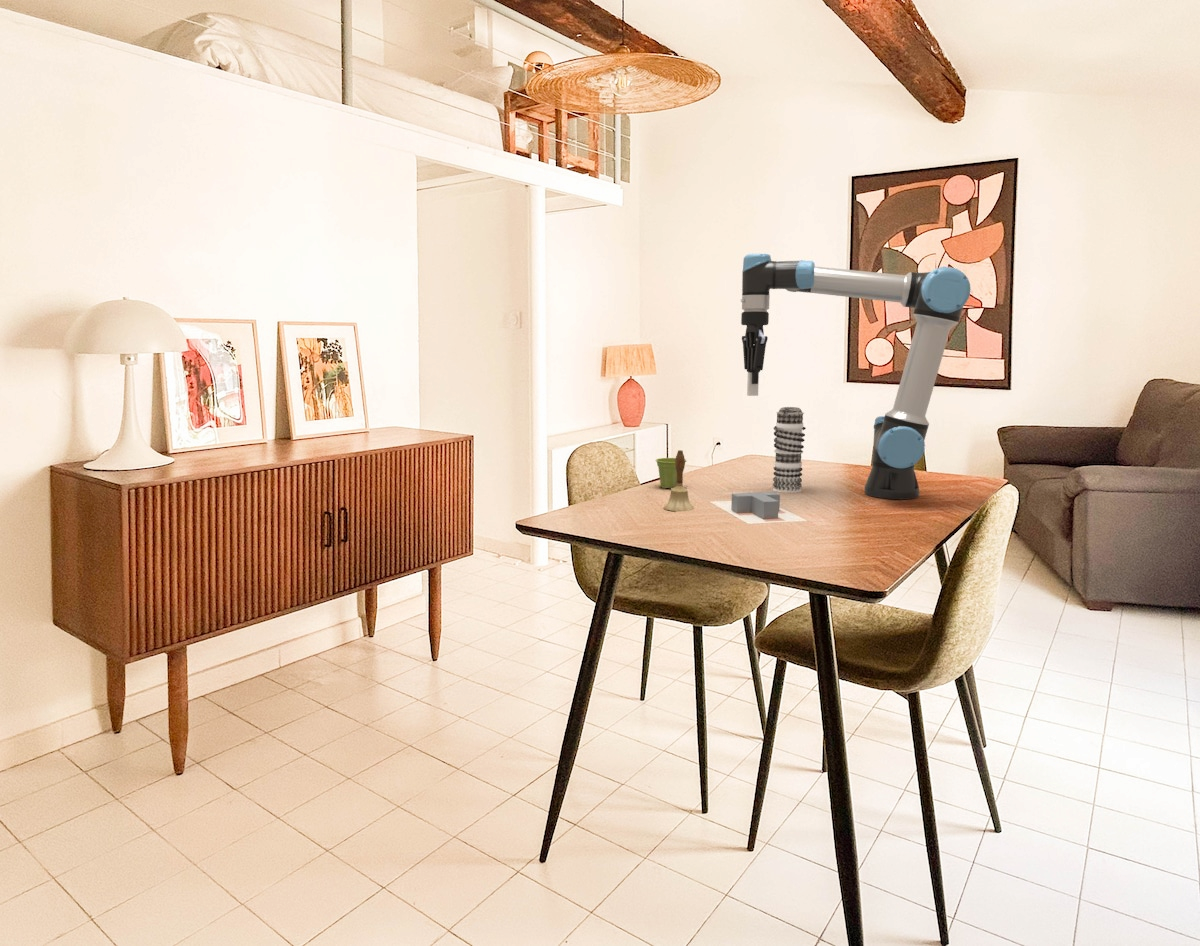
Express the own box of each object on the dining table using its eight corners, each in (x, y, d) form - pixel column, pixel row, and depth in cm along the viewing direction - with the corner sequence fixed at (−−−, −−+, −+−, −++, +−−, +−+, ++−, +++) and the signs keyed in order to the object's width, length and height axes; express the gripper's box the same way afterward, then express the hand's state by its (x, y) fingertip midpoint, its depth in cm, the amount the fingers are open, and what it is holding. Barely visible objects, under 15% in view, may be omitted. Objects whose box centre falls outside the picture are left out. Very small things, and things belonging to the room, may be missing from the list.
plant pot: (649, 486, 258) (650, 458, 257) (676, 483, 262) (676, 456, 261) (664, 491, 250) (665, 462, 249) (691, 489, 254) (692, 460, 253)
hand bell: (700, 508, 226) (701, 450, 223) (681, 513, 220) (682, 453, 217) (676, 504, 232) (677, 447, 229) (657, 508, 226) (657, 450, 223)
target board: (762, 499, 237) (762, 499, 237) (807, 521, 210) (807, 520, 210) (709, 502, 234) (709, 501, 234) (748, 524, 207) (748, 523, 207)
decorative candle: (778, 486, 258) (781, 405, 254) (807, 489, 253) (811, 407, 249) (766, 490, 251) (769, 408, 247) (795, 494, 245) (798, 409, 241)
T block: (773, 508, 225) (773, 491, 225) (792, 517, 214) (793, 500, 213) (731, 510, 223) (731, 493, 222) (748, 519, 211) (749, 502, 210)
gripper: (733, 311, 238) (731, 394, 242) (751, 310, 226) (749, 397, 230) (758, 311, 240) (755, 393, 244) (777, 310, 227) (774, 397, 231)
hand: (752, 395), depth 237 cm, fingers closed
